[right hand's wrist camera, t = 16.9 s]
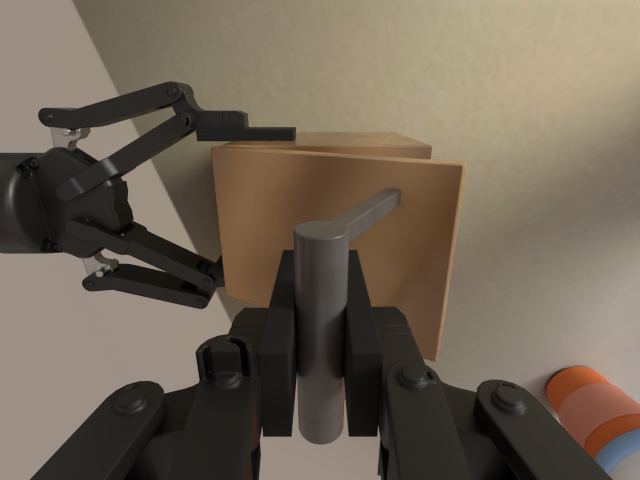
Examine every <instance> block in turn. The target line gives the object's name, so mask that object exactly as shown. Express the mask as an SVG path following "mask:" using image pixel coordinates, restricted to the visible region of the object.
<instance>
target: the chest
mask: <svg viewBox="0 0 640 480" xmlns="http://www.w3.org/2000/svg"><path fill="white" fill-rule="evenodd" d="M222 146H234V147H249V148H265V149H280V150H295V151H310V152H325V153H340V154H355V155H370V156H385V157H400V158H415V159H430V158H431V151H432V146H431V145H428V144H425V143H422V142H419V141H416V140H414V139H411V138H408V137H405V136H402V135H399V134H396V133H296V138H295V140H294V141H232V142H229V143H227V144H224V145H222Z"/></svg>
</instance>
